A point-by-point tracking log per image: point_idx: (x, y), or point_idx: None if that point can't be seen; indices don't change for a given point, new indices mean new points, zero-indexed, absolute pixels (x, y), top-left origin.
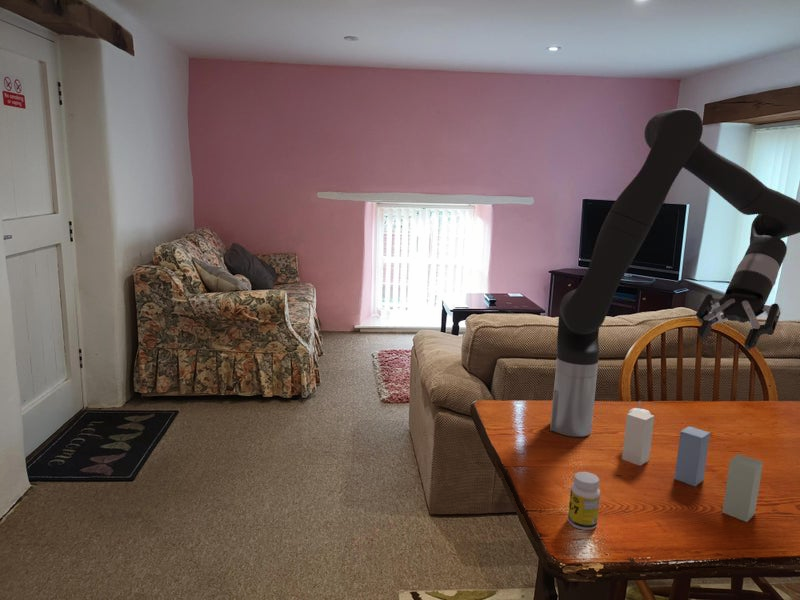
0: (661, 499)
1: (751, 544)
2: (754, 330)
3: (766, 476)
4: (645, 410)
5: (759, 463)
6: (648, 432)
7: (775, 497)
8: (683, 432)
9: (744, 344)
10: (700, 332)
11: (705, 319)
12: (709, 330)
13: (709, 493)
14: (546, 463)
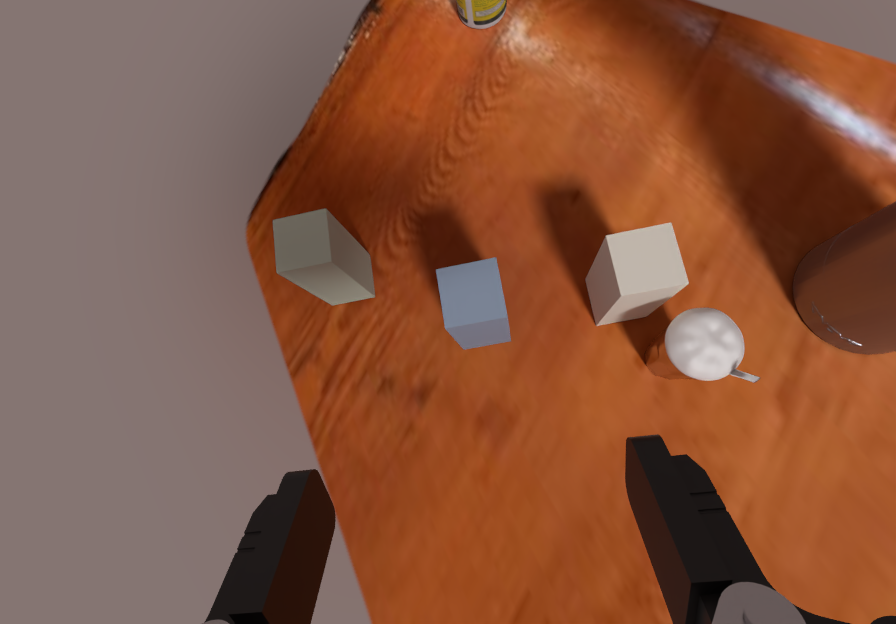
0: (460, 192)
1: (293, 202)
2: (234, 610)
3: (394, 514)
4: (696, 352)
5: (277, 254)
6: (604, 280)
7: (337, 417)
8: (487, 259)
9: (315, 470)
10: (666, 448)
11: (753, 593)
12: (663, 580)
13: (423, 303)
14: (697, 94)
